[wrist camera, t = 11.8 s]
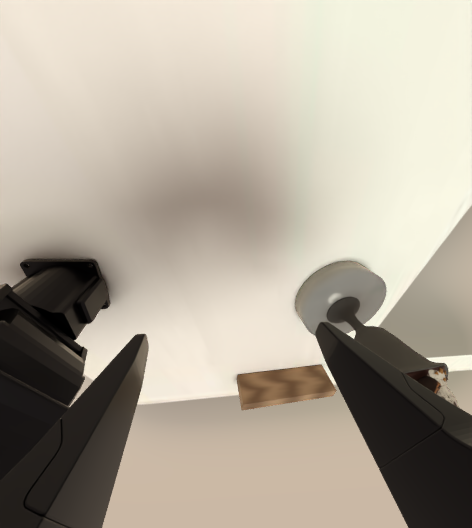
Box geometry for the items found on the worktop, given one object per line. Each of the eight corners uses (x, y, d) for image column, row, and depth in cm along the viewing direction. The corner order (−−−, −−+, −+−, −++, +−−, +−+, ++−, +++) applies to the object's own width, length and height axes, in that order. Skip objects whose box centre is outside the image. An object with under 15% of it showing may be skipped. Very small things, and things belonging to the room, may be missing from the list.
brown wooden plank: (236, 380, 36) (241, 410, 32) (237, 374, 35) (242, 404, 31) (318, 370, 40) (332, 395, 35) (321, 364, 39) (336, 390, 34)
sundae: (357, 322, 28) (490, 462, 15) (316, 329, 27) (420, 484, 14) (372, 288, 25) (559, 431, 12) (326, 295, 24) (474, 456, 11)
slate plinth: (287, 324, 30) (295, 340, 28) (308, 260, 24) (320, 273, 22) (350, 320, 32) (363, 334, 30) (383, 261, 26) (402, 272, 24)
